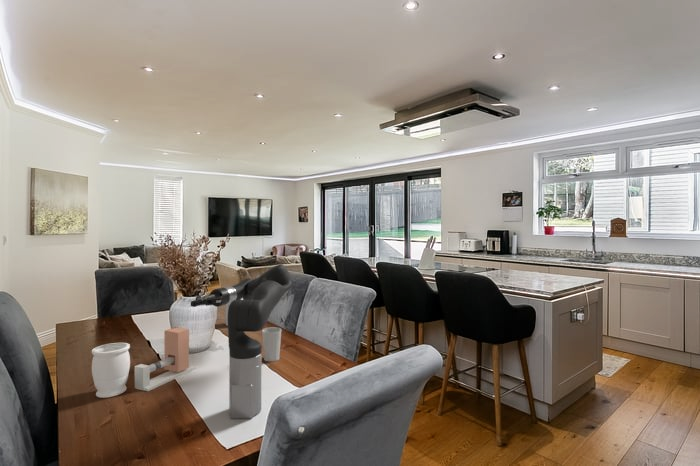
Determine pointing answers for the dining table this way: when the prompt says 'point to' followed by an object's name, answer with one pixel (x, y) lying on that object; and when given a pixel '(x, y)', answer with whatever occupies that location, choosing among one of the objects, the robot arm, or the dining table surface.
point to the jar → (110, 369)
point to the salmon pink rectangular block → (177, 348)
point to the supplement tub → (227, 312)
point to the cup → (271, 343)
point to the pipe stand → (148, 384)
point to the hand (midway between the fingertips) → (192, 304)
